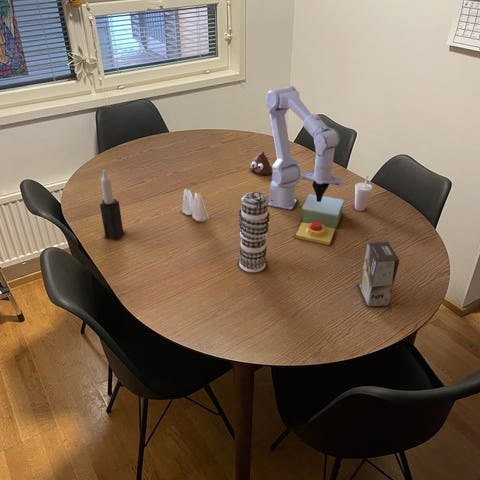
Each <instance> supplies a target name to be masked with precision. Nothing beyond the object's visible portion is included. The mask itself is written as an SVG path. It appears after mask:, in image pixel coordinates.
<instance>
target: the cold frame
mask: <svg viewBox="0 0 480 480" xmlns="http://www.w3.org/2000/svg"><path fill="white" fill-rule="evenodd" d="M343 208H344V203H343V204H342V207H341V210H340V213H339V215H338V216H333V215H327V214H322V213H317V212H312V211H307V210H303V211H302V222H304V223H309V224H310V223H312V222H313V221H318V222H321V223H322V225H324V226H325V227H328V228H333V229H335V230H337V228H338V225H339V222H340V219H341V217H342V214H343ZM302 222H301V223H302Z"/></svg>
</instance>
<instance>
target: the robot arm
mask: <svg viewBox="0 0 480 480" xmlns="http://www.w3.org/2000/svg"><path fill="white" fill-rule="evenodd" d="M265 100H266V101H265V102H266V107H267V113H268V114H269V119H270V124H271V131H272V136H273V142H274V147H275V153H276V154H275V155H276V160H275V162H274V163H273V164H272V165H271V168H272V175H271V176H272V177H271V178H272V181H271V183H270V185H269V192H268V193H269V194H268V195H269V196H268V201H269V202H268V206H271V207H275V208H281V209H286V210H293V209H294V207H295V205H296V203H297V201H298V199H297V198H295V196H296V195H295V194H296V184H297V183H298V181H299V180H302V181H303V180H307V181H312V188H313V190H314V193H315V195H316V199H317V202H321V200H322V196H324V194H325V192H326V191H327V189H328V188H329V186H330V185H333V186H338V187H339V188H343V186H344V183H345V179H342V178H340V177H336V176H334V175H332V170H333V164H334V157H335V150H336V147H338V146H339V145H340V143H341V142H340V141H341V137H340V134H339V132H338V131H337V129H335V128H331V127H330V126H328V125H327V124H326V123H325V122H324V121H323V120H322V118H321V117H320V116H319V115H318V114H316V113H315V114H312V113H311V112H310V110H309V109H308V108H307V106H306V105H305V104H304V102H303V101H302V100H301V98H300V92H299V91H298V90H297V89H296V87H295V86H294V85H289V86H285V87H281V88H277V89H276V88H275V89H270V90H268V91H267V94H266V96H265ZM288 110H291V111H292V112H293V113H294V114H295V115H296V116H297V117H298V118H299V119H300V120H302V122H303V125H302V126H303V128H304V129H305V130H306V132H308V134H309V135H310V136H311V137H312V138H313V144H314V147H315V148H314V149H315V150H314V151H315V153H316V154H315V162H314V169H313V170H314V171H313V172H304V171H302V170H301V168H300V165H299V162H298V160H297V159H295V158H294V157H293V156H292V151H291V145H290V139H289V133H288V127H287V122H286V116H285V115H286V114H287V112H288Z"/></svg>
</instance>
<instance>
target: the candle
mask: <svg viewBox="0 0 480 480" xmlns="http://www.w3.org/2000/svg"><path fill="white" fill-rule="evenodd" d="M100 184H101V188H102V195H103V200H102V201H101V203H100V204H99V208H100V214H101V221H102V225H103V231H104V236H105V238H106V239H111V240H114V241H116V240H119V239H120V238H121V237H122V236H123V235H124V227H123V221H122V213H121V206H120V201H119V200H117V199H116V198H114V194H113V188H112V181H111V178H110V177H109V175H108V174H107V171H106V170H105V169H103V170H102V176H101V178H100Z"/></svg>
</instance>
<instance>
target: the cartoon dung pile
mask: <svg viewBox="0 0 480 480" xmlns="http://www.w3.org/2000/svg"><path fill="white" fill-rule="evenodd" d="M249 170H250V172H252V173H254V174H257V175H259V176H266V175H270V174H271V173H272V172H273V168H272V165H271V164H270V161H269V158H268V157H267V156H266V155H265V151H262V152H259V153H258V154H257V155H256V156H255V157H254V158H253V159H252V161H251V164H250V166H249Z"/></svg>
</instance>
